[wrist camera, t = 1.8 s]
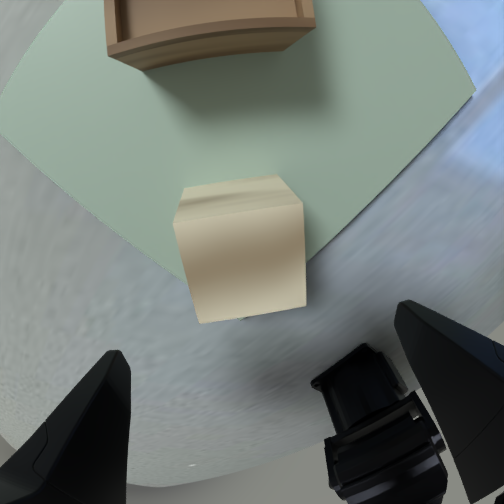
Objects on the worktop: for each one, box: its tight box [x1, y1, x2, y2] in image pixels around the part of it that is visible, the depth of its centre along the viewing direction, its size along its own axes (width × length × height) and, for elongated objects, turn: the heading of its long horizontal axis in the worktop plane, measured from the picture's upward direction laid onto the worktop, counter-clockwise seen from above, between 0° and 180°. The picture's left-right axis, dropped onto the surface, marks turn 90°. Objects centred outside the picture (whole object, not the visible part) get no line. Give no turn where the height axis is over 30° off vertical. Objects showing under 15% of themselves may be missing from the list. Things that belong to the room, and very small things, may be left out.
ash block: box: [173, 174, 306, 324], centre depth 14 cm, size 5×5×5 cm
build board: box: [0, 0, 476, 321], centre depth 13 cm, size 24×22×1 cm
